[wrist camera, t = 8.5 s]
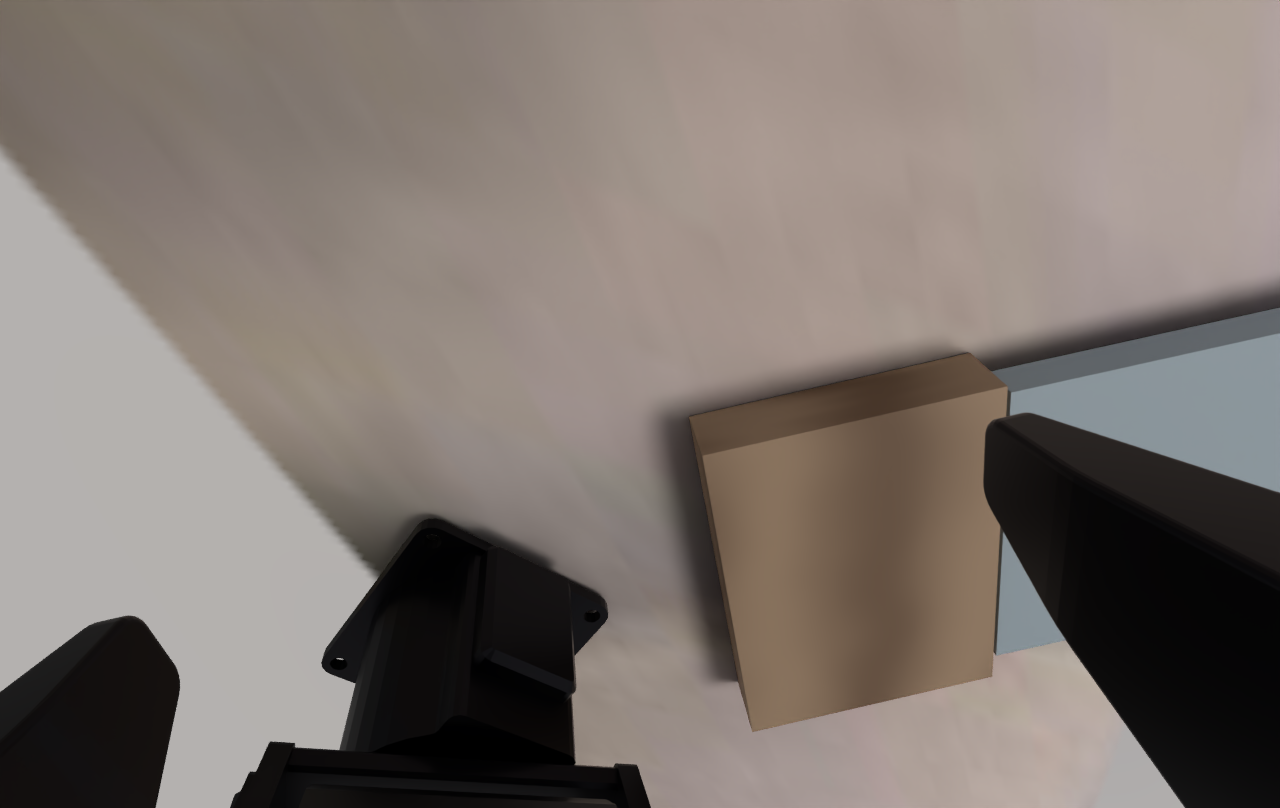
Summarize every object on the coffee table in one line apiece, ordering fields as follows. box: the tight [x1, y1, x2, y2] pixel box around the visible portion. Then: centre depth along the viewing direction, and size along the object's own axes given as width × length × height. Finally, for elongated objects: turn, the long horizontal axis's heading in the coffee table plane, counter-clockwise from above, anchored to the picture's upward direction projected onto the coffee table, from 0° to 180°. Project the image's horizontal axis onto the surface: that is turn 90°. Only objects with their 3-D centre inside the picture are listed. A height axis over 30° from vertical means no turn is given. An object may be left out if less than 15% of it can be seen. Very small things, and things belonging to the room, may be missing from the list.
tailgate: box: [991, 308, 1280, 655], centre depth 24 cm, size 2×10×10 cm
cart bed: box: [689, 353, 1008, 732], centre depth 24 cm, size 8×11×2 cm
